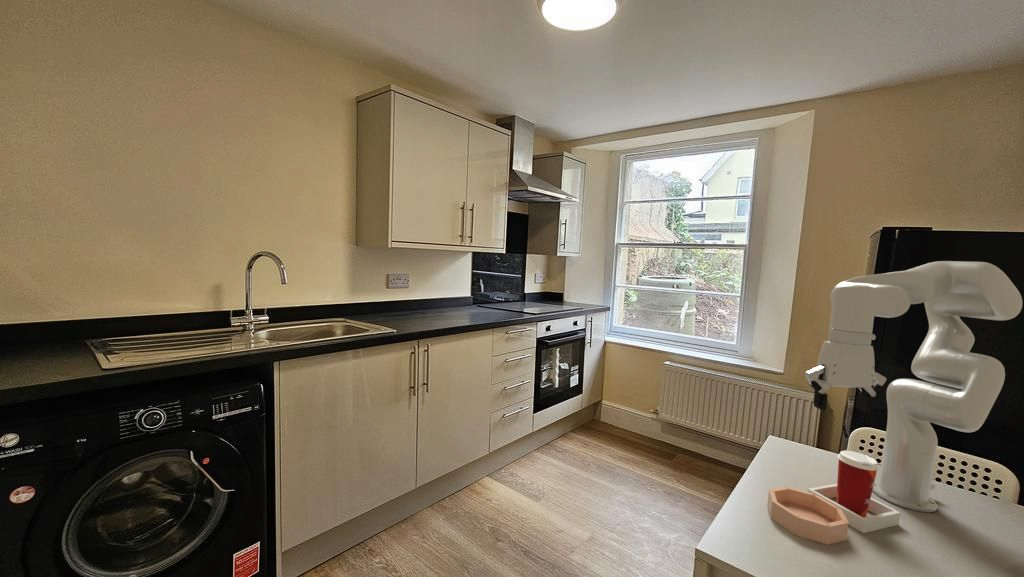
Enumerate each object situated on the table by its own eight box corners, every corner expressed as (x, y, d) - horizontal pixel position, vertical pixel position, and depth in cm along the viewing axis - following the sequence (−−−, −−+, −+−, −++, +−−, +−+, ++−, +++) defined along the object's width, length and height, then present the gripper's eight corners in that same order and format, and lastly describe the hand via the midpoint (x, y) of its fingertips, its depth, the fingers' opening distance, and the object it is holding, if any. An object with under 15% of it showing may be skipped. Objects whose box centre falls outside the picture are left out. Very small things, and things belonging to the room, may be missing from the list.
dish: (795, 499, 101) (797, 484, 101) (858, 537, 88) (861, 519, 88) (754, 507, 97) (756, 491, 97) (814, 547, 84) (816, 529, 83)
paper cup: (879, 525, 93) (888, 467, 92) (842, 518, 95) (850, 461, 94) (858, 505, 101) (865, 451, 100) (823, 499, 102) (830, 446, 101)
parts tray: (839, 493, 106) (841, 482, 105) (898, 524, 94) (900, 512, 94) (806, 499, 102) (807, 488, 101) (863, 533, 90) (865, 520, 89)
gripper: (875, 336, 95) (867, 406, 97) (799, 332, 96) (792, 401, 98) (903, 343, 88) (894, 418, 89) (821, 339, 89) (813, 413, 90)
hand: (841, 409), depth 94 cm, fingers open, 9 cm apart
